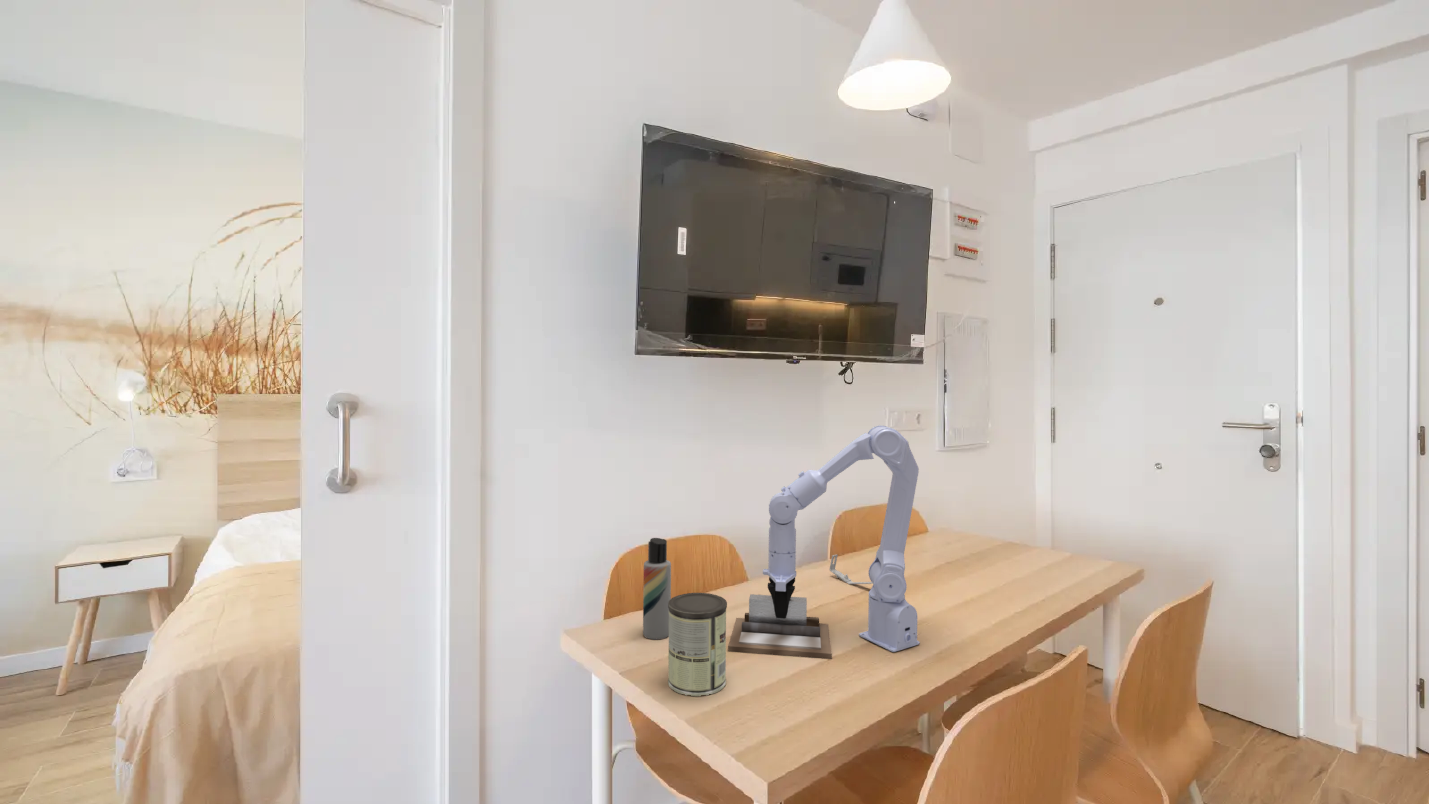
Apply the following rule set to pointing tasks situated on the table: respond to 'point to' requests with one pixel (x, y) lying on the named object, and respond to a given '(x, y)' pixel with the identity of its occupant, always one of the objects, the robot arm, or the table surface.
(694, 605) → the coffee can
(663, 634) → the lotion bottle
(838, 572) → the bracket
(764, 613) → the grey speckled stone slab
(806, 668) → the table surface
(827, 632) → the hinge base
